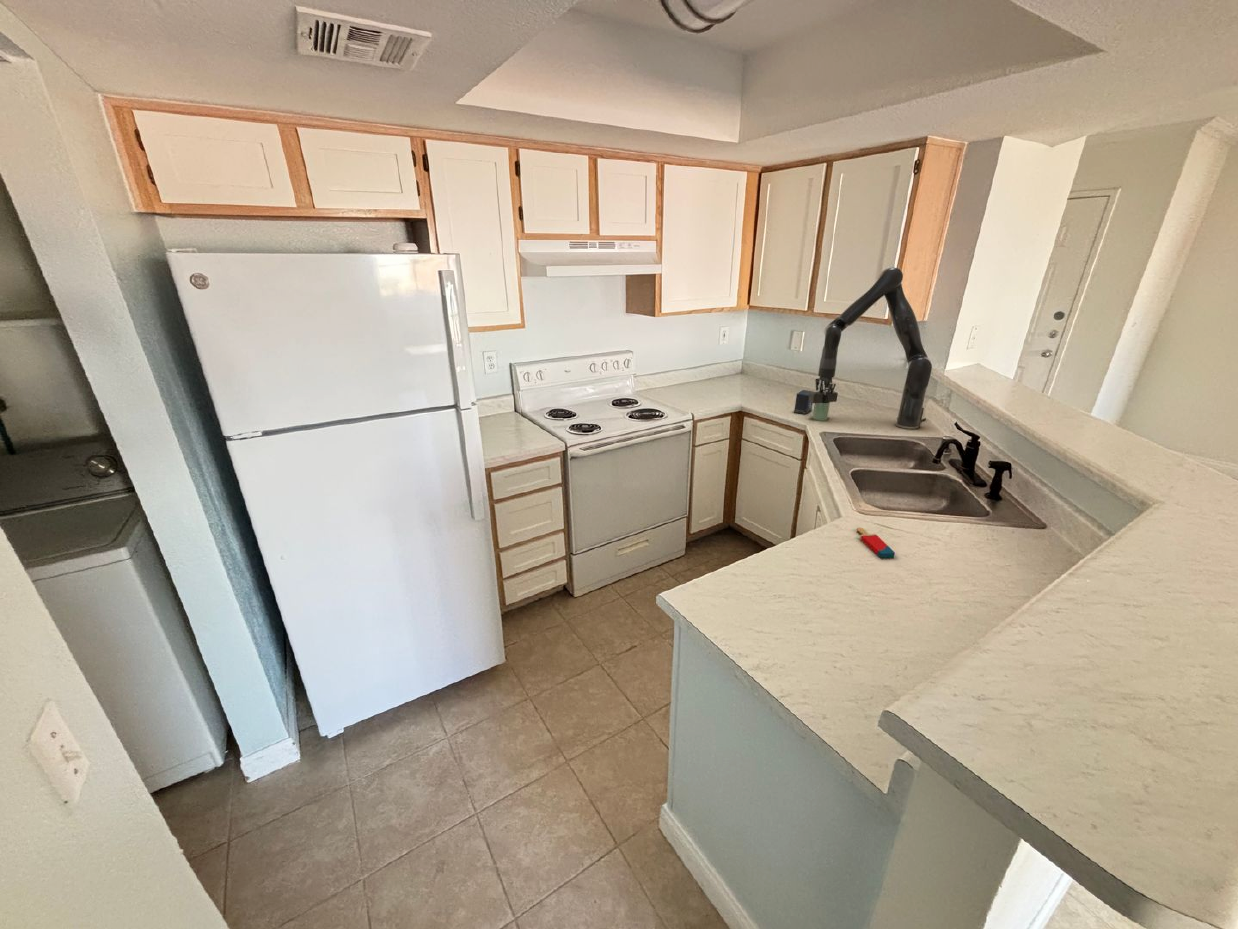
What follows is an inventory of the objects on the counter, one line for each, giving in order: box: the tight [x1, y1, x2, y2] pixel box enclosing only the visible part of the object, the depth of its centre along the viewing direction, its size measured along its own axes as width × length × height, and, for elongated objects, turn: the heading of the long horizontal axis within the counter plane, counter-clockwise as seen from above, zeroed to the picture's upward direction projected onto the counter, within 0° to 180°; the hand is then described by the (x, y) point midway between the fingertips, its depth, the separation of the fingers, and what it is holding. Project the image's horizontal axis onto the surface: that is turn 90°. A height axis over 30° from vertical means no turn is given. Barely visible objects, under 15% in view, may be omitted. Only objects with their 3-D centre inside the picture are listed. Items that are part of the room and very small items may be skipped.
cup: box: [812, 402, 831, 422], centre depth 251 cm, size 7×7×9 cm
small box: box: [793, 389, 814, 415], centre depth 264 cm, size 11×6×10 cm, turn 143°
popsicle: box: [856, 527, 896, 559], centre depth 141 cm, size 5×2×15 cm
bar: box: [809, 390, 839, 404], centre depth 249 cm, size 13×4×4 cm, turn 102°
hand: (822, 400), depth 250 cm, fingers closed on bar, 4 cm apart
